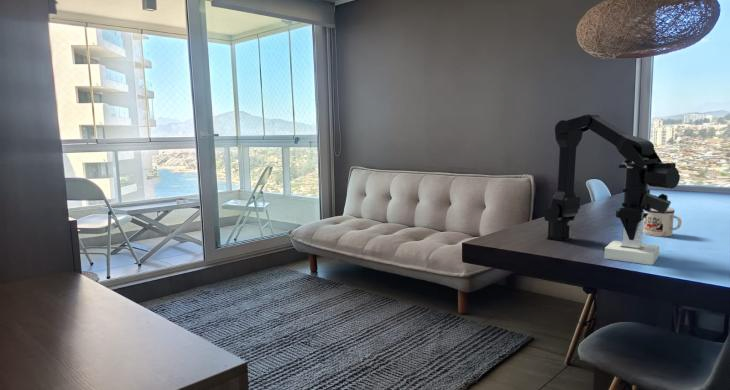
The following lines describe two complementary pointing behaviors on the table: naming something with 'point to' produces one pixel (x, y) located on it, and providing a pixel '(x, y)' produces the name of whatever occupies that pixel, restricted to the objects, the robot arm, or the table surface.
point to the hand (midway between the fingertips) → (632, 238)
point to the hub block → (632, 253)
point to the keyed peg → (637, 239)
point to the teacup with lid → (660, 223)
